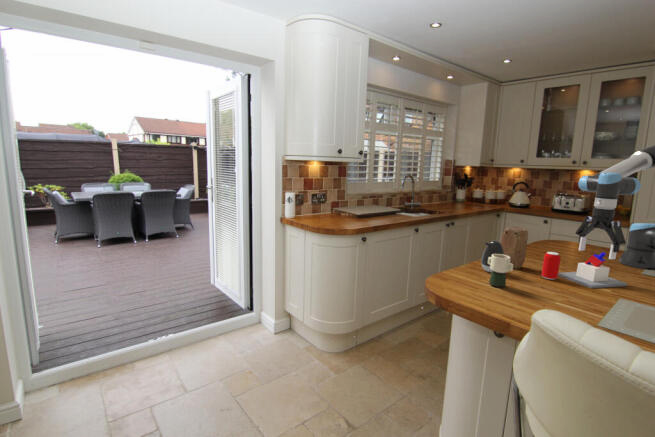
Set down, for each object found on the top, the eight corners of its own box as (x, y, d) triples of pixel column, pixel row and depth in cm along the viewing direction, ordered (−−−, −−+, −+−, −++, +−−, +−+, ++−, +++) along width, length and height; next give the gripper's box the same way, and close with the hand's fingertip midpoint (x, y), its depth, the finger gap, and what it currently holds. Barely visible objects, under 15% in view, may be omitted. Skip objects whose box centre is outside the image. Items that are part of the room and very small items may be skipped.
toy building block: (593, 269, 147) (606, 256, 143) (584, 263, 150) (596, 250, 146) (597, 268, 149) (610, 255, 145) (588, 262, 152) (600, 249, 147)
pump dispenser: (475, 267, 162) (479, 237, 159) (495, 268, 163) (499, 238, 160) (487, 274, 152) (491, 243, 149) (508, 275, 153) (512, 243, 150)
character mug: (514, 288, 136) (519, 258, 134) (504, 291, 132) (508, 260, 130) (490, 280, 145) (494, 251, 143) (480, 282, 142) (483, 253, 139)
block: (525, 268, 163) (531, 229, 160) (514, 270, 160) (520, 230, 157) (505, 262, 173) (510, 225, 170) (495, 263, 170) (500, 226, 167)
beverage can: (555, 277, 152) (559, 252, 150) (558, 281, 147) (562, 255, 145) (540, 275, 155) (544, 250, 153) (542, 279, 149) (546, 253, 147)
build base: (590, 273, 160) (593, 259, 159) (626, 285, 144) (630, 270, 143) (557, 275, 155) (559, 260, 154) (590, 288, 140) (593, 272, 139)
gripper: (571, 204, 155) (564, 247, 159) (629, 212, 131) (619, 263, 135) (583, 204, 157) (576, 247, 161) (643, 212, 133) (633, 262, 137)
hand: (596, 254), depth 148 cm, fingers open, 13 cm apart
